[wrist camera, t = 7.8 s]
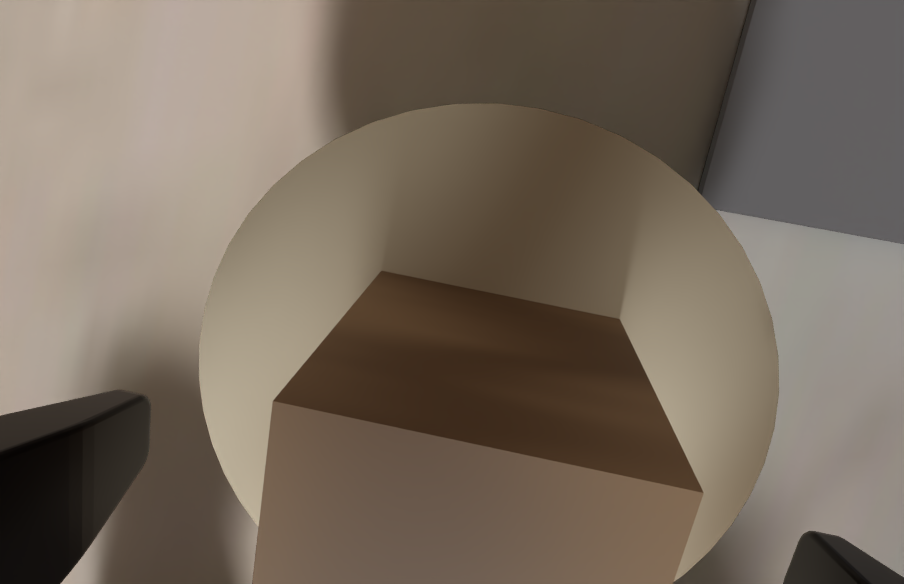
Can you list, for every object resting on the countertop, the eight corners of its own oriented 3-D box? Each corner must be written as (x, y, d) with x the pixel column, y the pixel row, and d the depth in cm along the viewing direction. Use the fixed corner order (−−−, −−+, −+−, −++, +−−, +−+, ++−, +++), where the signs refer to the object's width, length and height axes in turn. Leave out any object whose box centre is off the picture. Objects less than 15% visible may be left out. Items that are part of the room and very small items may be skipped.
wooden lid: (833, 164, 11) (1222, 235, 5) (668, 639, 14) (783, 1049, 8) (251, 54, 11) (-49, -7, 5) (209, 537, 14) (-16, 851, 8)
